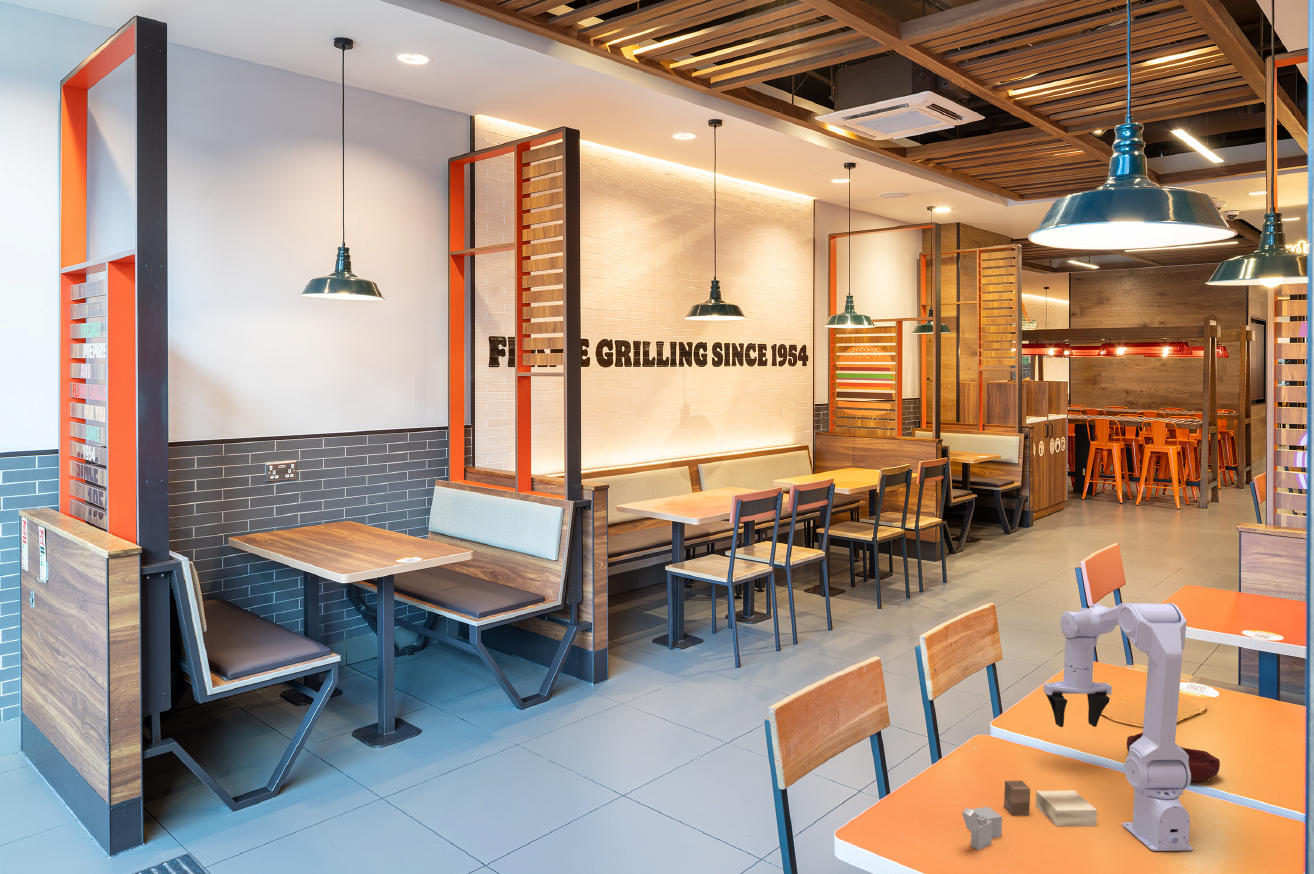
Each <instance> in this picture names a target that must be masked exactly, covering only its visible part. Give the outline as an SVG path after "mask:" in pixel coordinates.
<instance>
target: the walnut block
mask: <svg viewBox="0 0 1314 874" xmlns="http://www.w3.org/2000/svg"><path fill="white" fill-rule="evenodd" d="M1003 797H1004V798H1003V808H1004V809H1005V810H1006V811H1007V812H1008V813H1009V814H1010V816H1012V817H1015V816H1016V817H1017V816H1019V817H1021V816H1025V817H1027V816H1028V817H1029V816H1030V809H1031V808H1030V806H1031V805H1030V803H1031V788H1030V787H1029V786H1028V785H1027V784H1026V783H1025V782H1024V781H1023V780H1004V795H1003Z"/></svg>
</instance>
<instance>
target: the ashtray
mask: <svg viewBox="0 0 1314 874" xmlns="http://www.w3.org/2000/svg"><path fill="white" fill-rule="evenodd" d="M1142 736H1143V731H1142V732H1140V733H1137V734H1135V735H1129V736H1127V738H1126V749H1127V750H1126V751H1127V753H1129V747H1130V745H1132V744H1133V743H1134V742H1135V741H1137V740H1138V739H1140V738H1141V737H1142ZM1180 747H1181V748H1182V749H1183V750H1184V751H1185V752H1186V753H1187V755H1188V756H1189V761H1188V762H1189V769H1190V772H1191V781H1194V782H1195V781H1196V782H1200V781H1204V780H1208V779H1210V780H1211V779H1213V778H1214V777H1216V776H1217V774H1218V773H1219V771H1220V767H1221V762H1220V759H1219V758H1218V757H1216V756H1214V755H1212V754H1211V753H1209V752H1208V751H1205V750H1200V749H1193V748H1188V747H1182V746H1180Z"/></svg>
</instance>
